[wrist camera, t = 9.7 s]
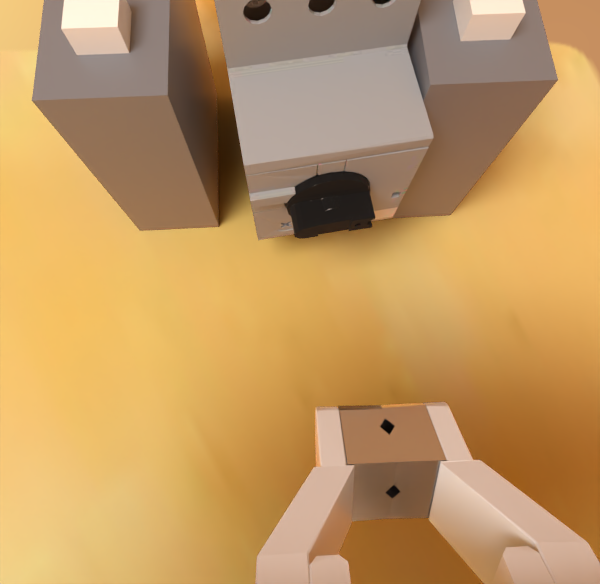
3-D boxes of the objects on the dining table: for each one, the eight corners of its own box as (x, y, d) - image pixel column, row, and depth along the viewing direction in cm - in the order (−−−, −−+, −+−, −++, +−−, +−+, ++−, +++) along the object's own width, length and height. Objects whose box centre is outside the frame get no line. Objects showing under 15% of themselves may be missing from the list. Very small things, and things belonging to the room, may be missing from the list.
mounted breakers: (450, 215, 29) (577, 55, 16) (139, 230, 28) (11, 76, 15) (428, 86, 31) (522, -139, 18) (145, 97, 30) (39, -128, 18)
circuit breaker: (267, 288, 27) (238, 146, 13) (234, 96, 31) (182, -186, 16) (385, 268, 28) (488, 108, 13) (338, 81, 31) (379, -206, 17)
